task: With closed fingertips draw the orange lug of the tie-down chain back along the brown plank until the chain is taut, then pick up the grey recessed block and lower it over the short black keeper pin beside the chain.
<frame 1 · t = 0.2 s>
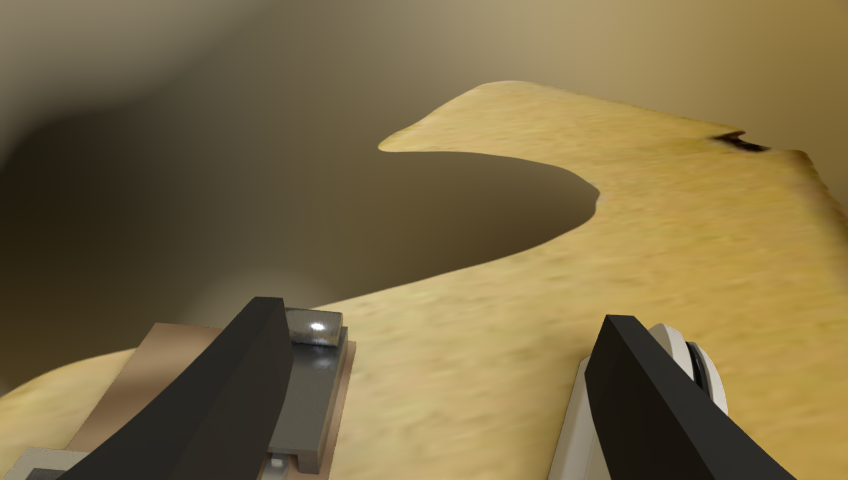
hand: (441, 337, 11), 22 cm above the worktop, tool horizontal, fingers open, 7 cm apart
chain housing: (299, 401, 33), resting on deck plank
chain slider: (273, 453, 27), point 3 cm above the worktop, slide at 0.0 cm
light grey piece: (613, 467, 32), on the worktop
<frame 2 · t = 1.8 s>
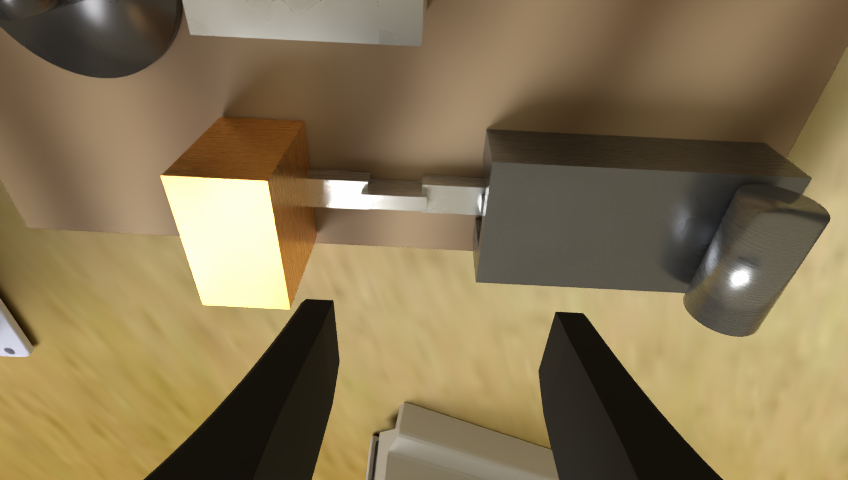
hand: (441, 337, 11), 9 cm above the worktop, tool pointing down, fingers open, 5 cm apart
chain housing: (607, 196, 18), resting on deck plank
deck plank: (375, 44, 16), on the worktop
chain slider: (475, 222, 16), point 3 cm above the worktop, slide at 0.0 cm
light grey piece: (486, 461, 32), on the worktop
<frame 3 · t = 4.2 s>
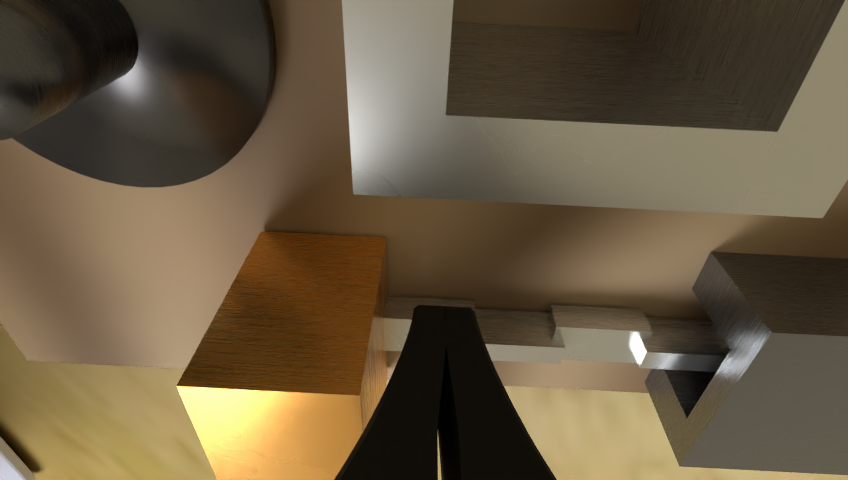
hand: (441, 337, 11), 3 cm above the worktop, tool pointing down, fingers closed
deck plank: (558, 131, 10), on the worktop
chain slider: (647, 393, 11), point 3 cm above the worktop, slide at 1.3 cm, touching gripper
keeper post: (101, 22, 9), resting on deck plank
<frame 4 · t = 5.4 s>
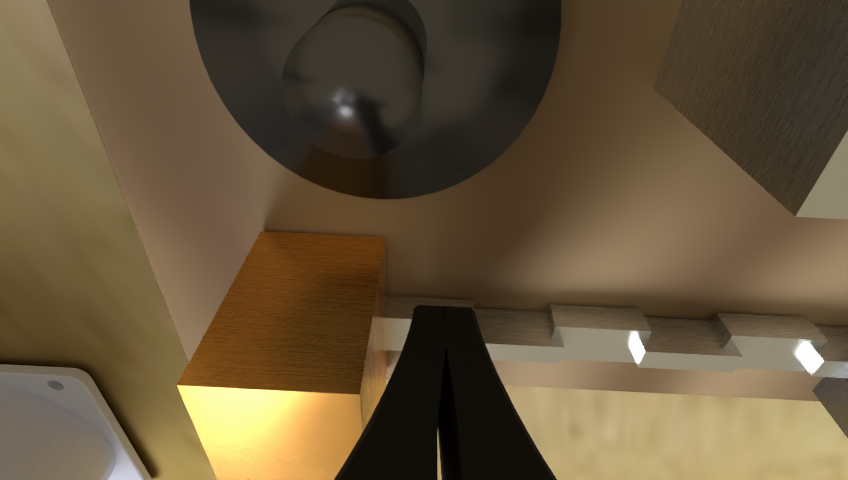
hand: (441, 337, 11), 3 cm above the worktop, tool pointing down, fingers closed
deck plank: (787, 143, 10), on the worktop
chain slider: (645, 393, 11), point 3 cm above the worktop, slide at 6.4 cm, touching gripper
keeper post: (378, 36, 9), resting on deck plank
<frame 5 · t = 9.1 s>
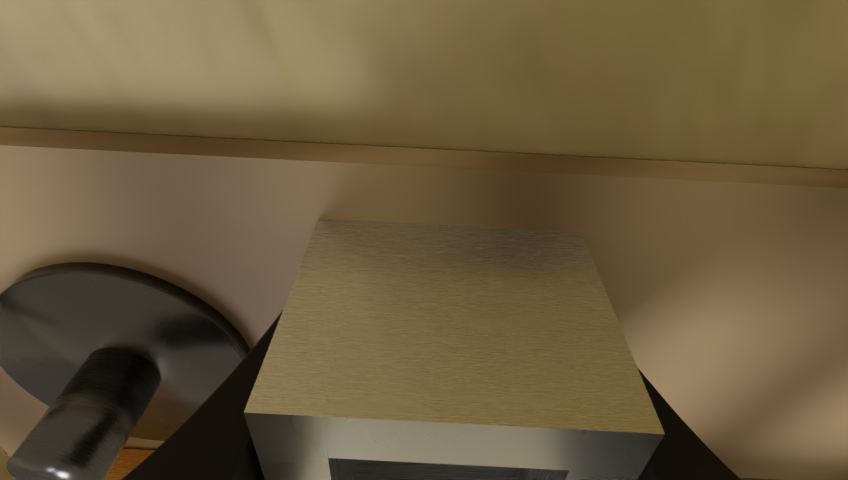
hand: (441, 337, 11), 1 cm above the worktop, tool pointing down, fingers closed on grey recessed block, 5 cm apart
grey recessed block: (441, 318, 11), point 1 cm above the worktop, touching deck plank, gripper
deck plank: (466, 394, 14), on the worktop
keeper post: (134, 356, 12), resting on deck plank
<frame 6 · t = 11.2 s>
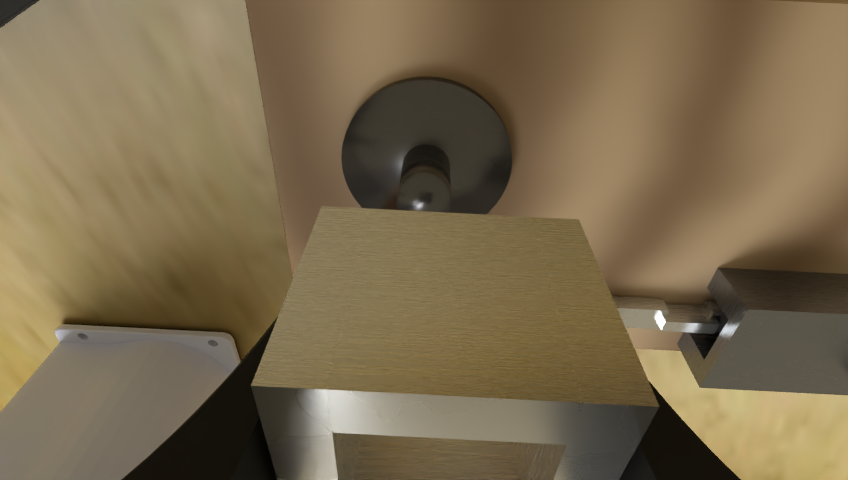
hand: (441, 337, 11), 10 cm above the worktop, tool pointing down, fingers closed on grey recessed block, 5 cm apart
grey recessed block: (442, 306, 11), point 9 cm above the worktop, touching gripper
chain housing: (802, 313, 22), resting on deck plank
deck plank: (638, 205, 20), on the worktop
chain slider: (564, 338, 20), point 3 cm above the worktop, slide at 6.4 cm
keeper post: (426, 160, 18), resting on deck plank
when the fingers open (4 cm above the worktop, at t = 13.3 s): grey recessed block drops 2 cm, resting on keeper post.
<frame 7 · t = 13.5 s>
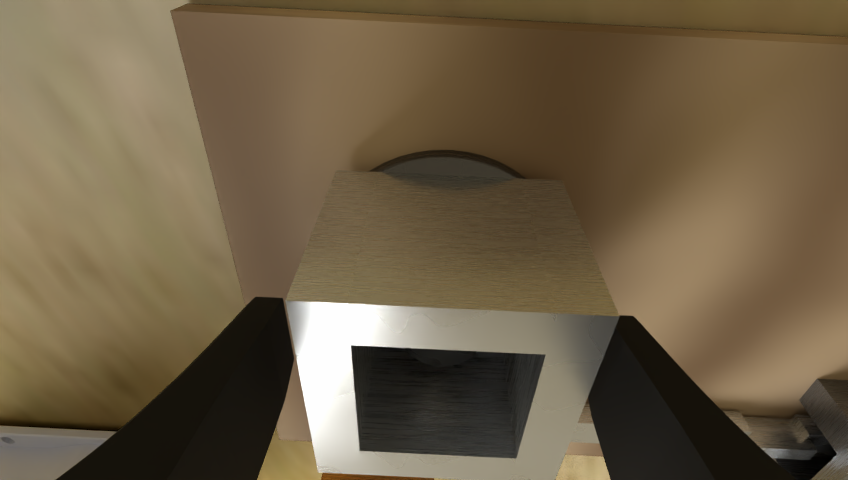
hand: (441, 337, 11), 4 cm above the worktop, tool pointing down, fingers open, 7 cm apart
grey recessed block: (442, 263, 13), point 1 cm above the worktop, touching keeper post
deck plank: (717, 302, 15), on the worktop
chain slider: (619, 473, 16), point 3 cm above the worktop, slide at 6.4 cm
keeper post: (441, 254, 13), resting on deck plank
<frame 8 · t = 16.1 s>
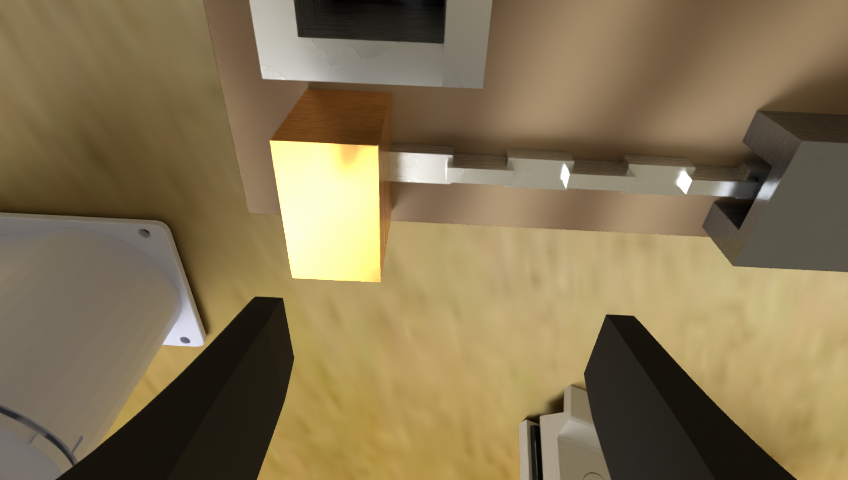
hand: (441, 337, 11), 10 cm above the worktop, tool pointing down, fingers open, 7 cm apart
deck plank: (659, 23, 16), on the worktop
chain slider: (566, 194, 16), point 3 cm above the worktop, slide at 6.4 cm
light grey piece: (627, 448, 32), on the worktop
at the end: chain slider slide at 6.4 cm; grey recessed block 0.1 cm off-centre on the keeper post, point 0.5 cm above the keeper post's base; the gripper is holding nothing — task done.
